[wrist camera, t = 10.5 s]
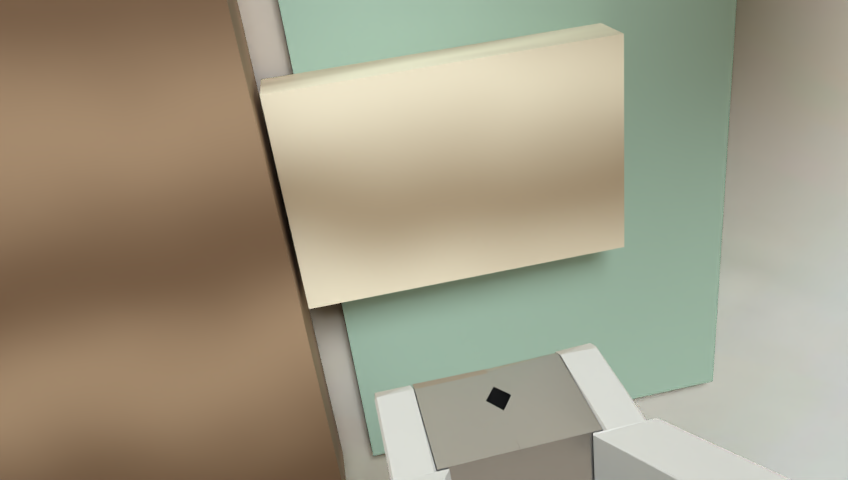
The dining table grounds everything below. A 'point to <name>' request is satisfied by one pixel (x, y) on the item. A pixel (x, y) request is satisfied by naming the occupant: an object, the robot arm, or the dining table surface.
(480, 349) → the sage mat
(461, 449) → the robot arm
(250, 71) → the walnut deck
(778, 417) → the dining table surface
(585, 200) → the birch tile
